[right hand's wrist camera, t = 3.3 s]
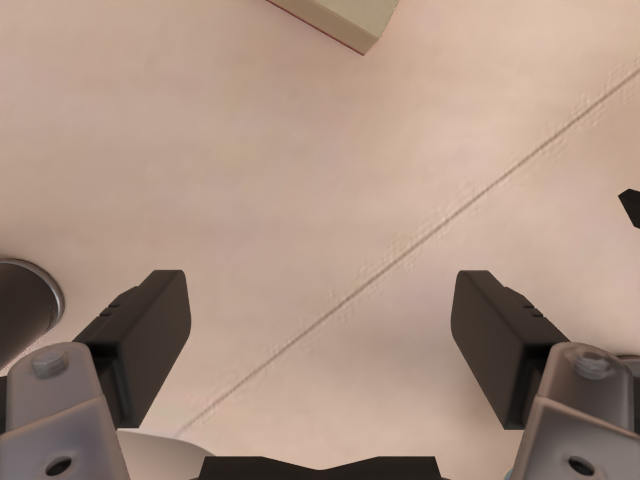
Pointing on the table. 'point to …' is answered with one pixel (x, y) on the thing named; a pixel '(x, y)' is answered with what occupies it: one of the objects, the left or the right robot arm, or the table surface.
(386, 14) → the lid
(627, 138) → the table surface
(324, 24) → the chest
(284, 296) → the table surface
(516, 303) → the right robot arm
